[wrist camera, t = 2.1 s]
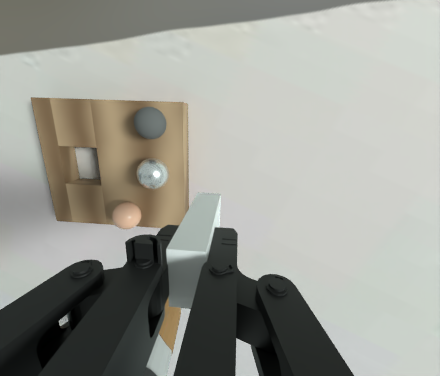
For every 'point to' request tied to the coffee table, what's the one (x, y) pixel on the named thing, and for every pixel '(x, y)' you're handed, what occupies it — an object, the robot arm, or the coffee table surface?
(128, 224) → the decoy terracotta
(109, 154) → the wooden flat board
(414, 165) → the coffee table surface
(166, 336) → the coffee cup
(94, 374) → the robot arm
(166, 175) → the steel ball
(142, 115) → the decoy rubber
